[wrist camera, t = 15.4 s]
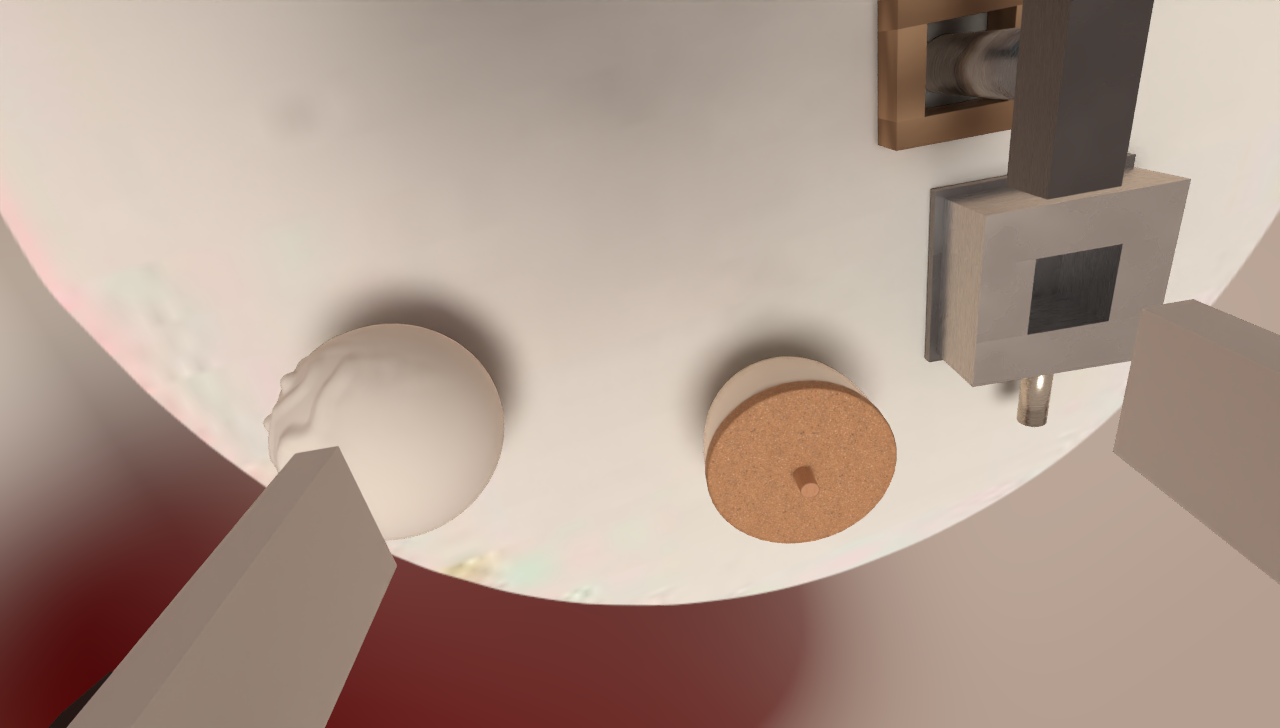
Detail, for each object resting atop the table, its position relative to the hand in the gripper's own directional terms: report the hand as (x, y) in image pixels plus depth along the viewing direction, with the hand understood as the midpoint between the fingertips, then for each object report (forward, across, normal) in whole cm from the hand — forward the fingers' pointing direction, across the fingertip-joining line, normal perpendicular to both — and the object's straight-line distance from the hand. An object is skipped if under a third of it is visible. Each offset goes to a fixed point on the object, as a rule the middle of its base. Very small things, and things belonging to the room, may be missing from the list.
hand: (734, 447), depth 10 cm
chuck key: (+27, +16, +3) cm, 31 cm away
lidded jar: (+27, +5, -16) cm, 32 cm away
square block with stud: (+27, +21, -11) cm, 36 cm away
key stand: (+27, +16, +3) cm, 31 cm away
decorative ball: (+27, -17, -10) cm, 33 cm away
